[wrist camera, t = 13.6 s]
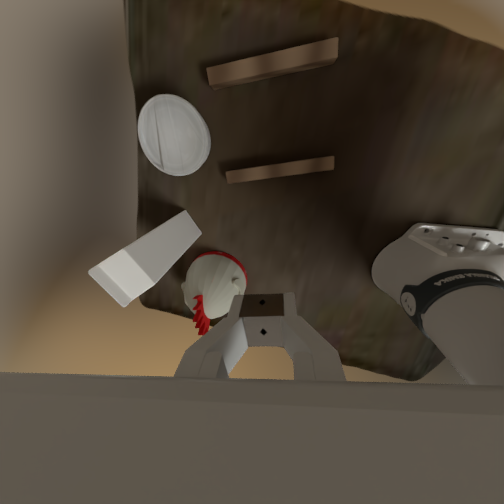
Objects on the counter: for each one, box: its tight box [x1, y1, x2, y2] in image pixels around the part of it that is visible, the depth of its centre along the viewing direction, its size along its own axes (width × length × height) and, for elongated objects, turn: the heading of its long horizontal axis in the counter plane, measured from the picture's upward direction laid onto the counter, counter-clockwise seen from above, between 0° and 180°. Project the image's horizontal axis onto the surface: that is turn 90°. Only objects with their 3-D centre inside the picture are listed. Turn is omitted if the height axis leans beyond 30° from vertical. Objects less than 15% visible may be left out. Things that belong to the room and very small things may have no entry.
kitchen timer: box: [181, 251, 247, 335], centre depth 41 cm, size 14×14×15 cm
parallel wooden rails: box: [206, 37, 338, 184], centre depth 32 cm, size 18×16×2 cm
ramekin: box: [138, 94, 211, 176], centre depth 33 cm, size 11×11×5 cm
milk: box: [88, 210, 202, 307], centre depth 33 cm, size 6×6×22 cm
